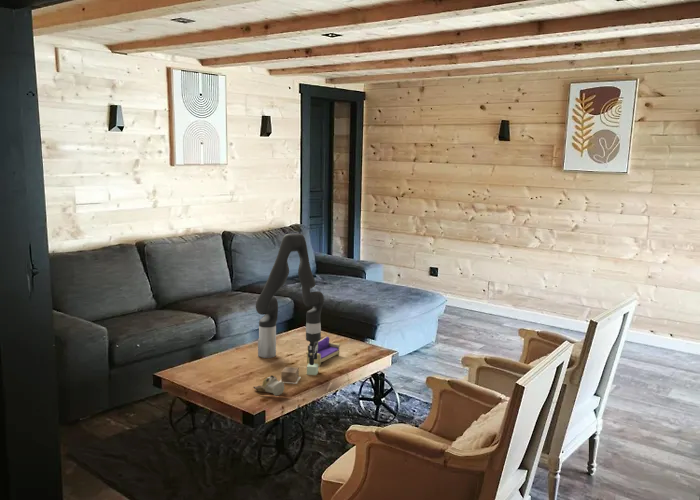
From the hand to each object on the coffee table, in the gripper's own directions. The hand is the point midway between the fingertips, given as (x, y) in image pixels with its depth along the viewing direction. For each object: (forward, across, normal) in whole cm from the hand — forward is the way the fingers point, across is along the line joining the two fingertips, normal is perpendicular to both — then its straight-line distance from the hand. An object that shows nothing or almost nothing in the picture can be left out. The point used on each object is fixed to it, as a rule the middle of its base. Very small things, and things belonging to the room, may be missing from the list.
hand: (313, 361), depth 308 cm
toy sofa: (+7, -24, +1) cm, 25 cm away
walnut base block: (+6, +11, -10) cm, 16 cm away
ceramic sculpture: (+7, +26, -15) cm, 31 cm away
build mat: (+7, +11, -10) cm, 16 cm away
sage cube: (+7, 0, 0) cm, 7 cm away
